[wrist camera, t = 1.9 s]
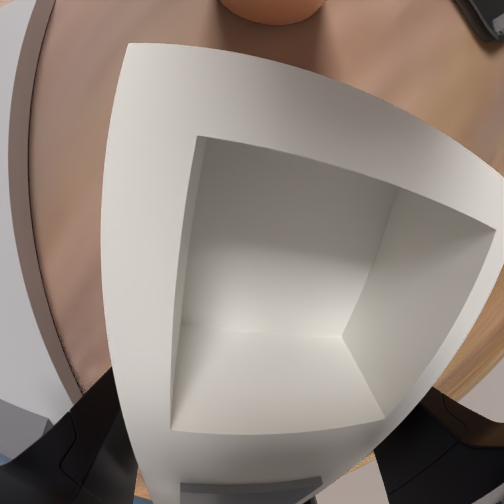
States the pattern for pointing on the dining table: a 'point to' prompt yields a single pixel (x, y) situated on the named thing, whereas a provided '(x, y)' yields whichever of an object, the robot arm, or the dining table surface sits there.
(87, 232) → the dining table surface
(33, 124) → the dining table surface
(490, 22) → the phone
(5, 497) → the robot arm
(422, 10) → the dining table surface
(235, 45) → the dining table surface
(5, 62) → the board
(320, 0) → the orange-brown tapered capsule
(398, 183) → the white socket block
